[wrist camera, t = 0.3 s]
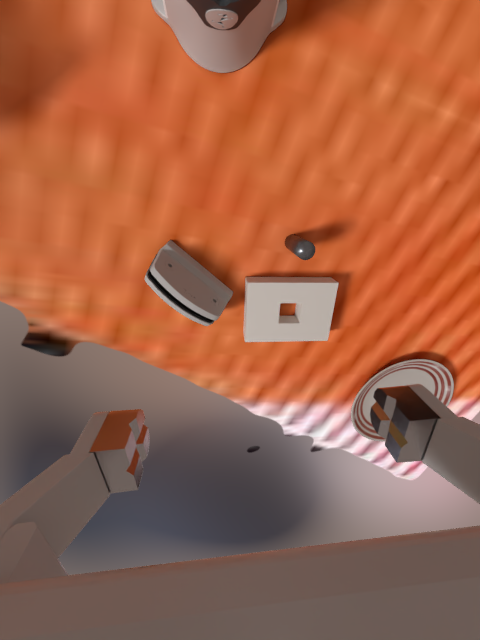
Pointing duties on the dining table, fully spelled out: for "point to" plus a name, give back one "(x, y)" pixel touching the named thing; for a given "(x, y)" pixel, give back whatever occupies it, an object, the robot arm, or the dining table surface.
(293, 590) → the robot arm
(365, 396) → the dinner plate
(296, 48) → the dining table surface
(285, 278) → the grey block with hole
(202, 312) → the grey curved slotted block
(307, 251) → the pin
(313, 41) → the dining table surface
